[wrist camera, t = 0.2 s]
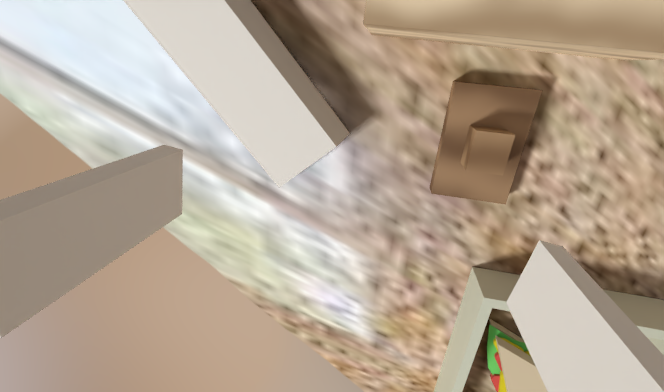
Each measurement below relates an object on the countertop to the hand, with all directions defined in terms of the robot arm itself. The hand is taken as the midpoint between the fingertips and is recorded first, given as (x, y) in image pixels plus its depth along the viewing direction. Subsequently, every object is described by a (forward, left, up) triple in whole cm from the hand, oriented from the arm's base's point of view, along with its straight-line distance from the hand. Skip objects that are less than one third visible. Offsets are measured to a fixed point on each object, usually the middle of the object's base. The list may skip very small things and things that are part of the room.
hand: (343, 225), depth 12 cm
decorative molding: (-3, -22, -27) cm, 35 cm away
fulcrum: (+1, +11, -27) cm, 29 cm away
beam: (-11, +10, -27) cm, 31 cm away
